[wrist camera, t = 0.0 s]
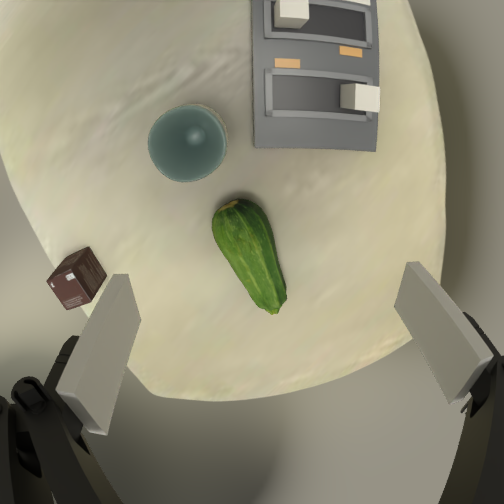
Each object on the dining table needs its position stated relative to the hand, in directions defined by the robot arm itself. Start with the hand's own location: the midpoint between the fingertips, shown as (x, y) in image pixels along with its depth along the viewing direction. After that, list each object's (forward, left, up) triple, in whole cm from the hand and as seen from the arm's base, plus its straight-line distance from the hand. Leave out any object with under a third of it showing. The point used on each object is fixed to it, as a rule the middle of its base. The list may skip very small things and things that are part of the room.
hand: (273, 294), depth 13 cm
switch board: (-14, +9, -28) cm, 33 cm away
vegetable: (+14, +1, -28) cm, 32 cm away
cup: (-4, -6, -28) cm, 29 cm away
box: (+15, -27, -28) cm, 42 cm away
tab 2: (-9, +13, -26) cm, 30 cm away
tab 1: (-19, +5, -26) cm, 32 cm away
